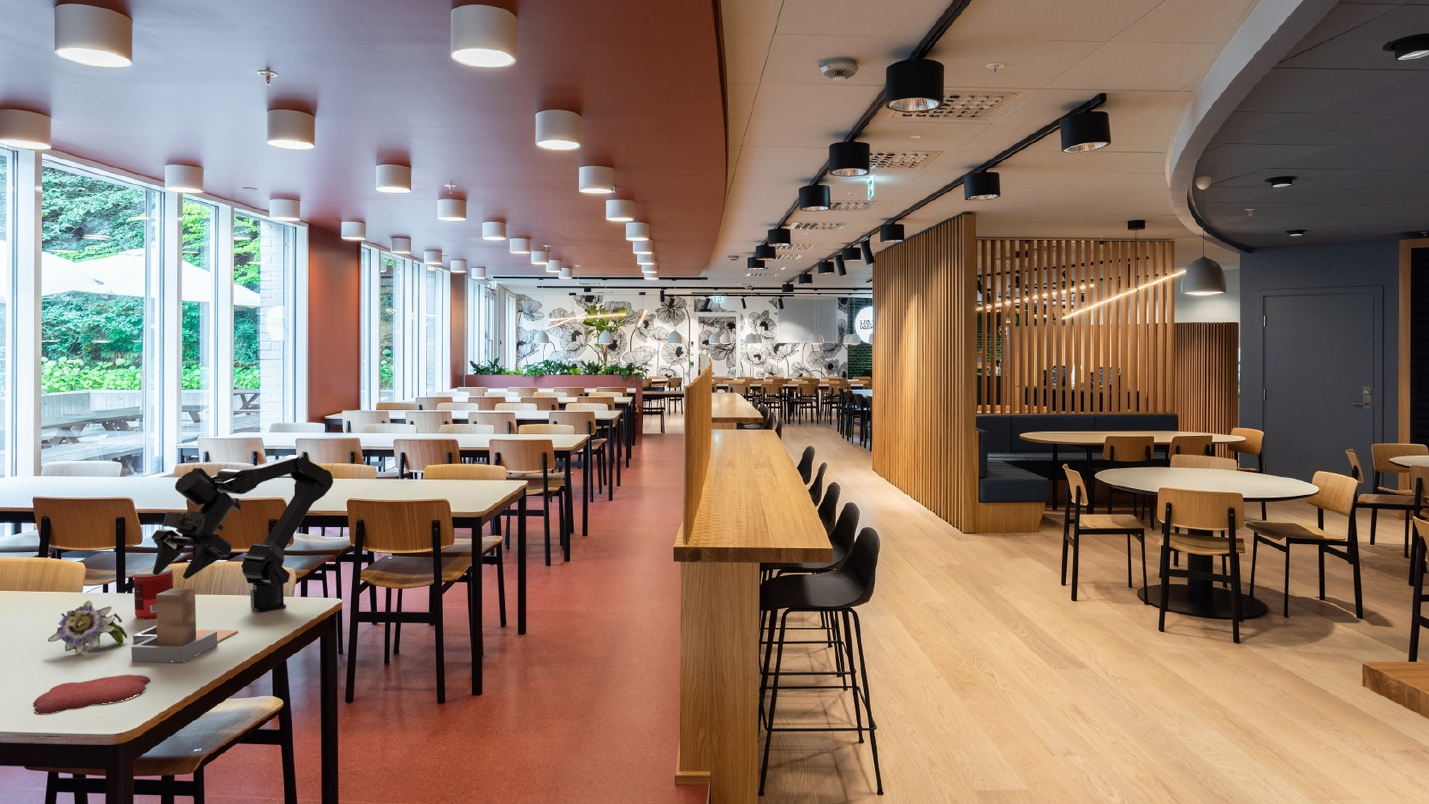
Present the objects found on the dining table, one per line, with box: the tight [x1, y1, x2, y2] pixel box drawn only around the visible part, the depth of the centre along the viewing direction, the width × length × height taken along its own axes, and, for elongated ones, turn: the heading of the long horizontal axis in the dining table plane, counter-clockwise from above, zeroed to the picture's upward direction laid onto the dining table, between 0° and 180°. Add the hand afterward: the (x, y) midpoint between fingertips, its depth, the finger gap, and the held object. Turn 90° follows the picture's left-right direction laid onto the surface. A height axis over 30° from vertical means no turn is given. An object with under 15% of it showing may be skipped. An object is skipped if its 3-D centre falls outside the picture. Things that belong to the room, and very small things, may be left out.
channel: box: [131, 632, 218, 663], centre depth 184 cm, size 11×11×3 cm
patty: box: [32, 674, 151, 714], centre depth 161 cm, size 18×14×2 cm
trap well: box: [132, 624, 157, 643], centre depth 194 cm, size 8×8×2 cm
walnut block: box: [156, 587, 197, 647], centre depth 184 cm, size 5×5×13 cm
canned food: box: [133, 566, 174, 620], centre depth 211 cm, size 8×8×11 cm
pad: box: [196, 629, 239, 644], centre depth 194 cm, size 9×9×1 cm
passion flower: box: [47, 600, 128, 656], centre depth 187 cm, size 11×11×12 cm
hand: (169, 576), depth 193 cm, fingers open, 9 cm apart
